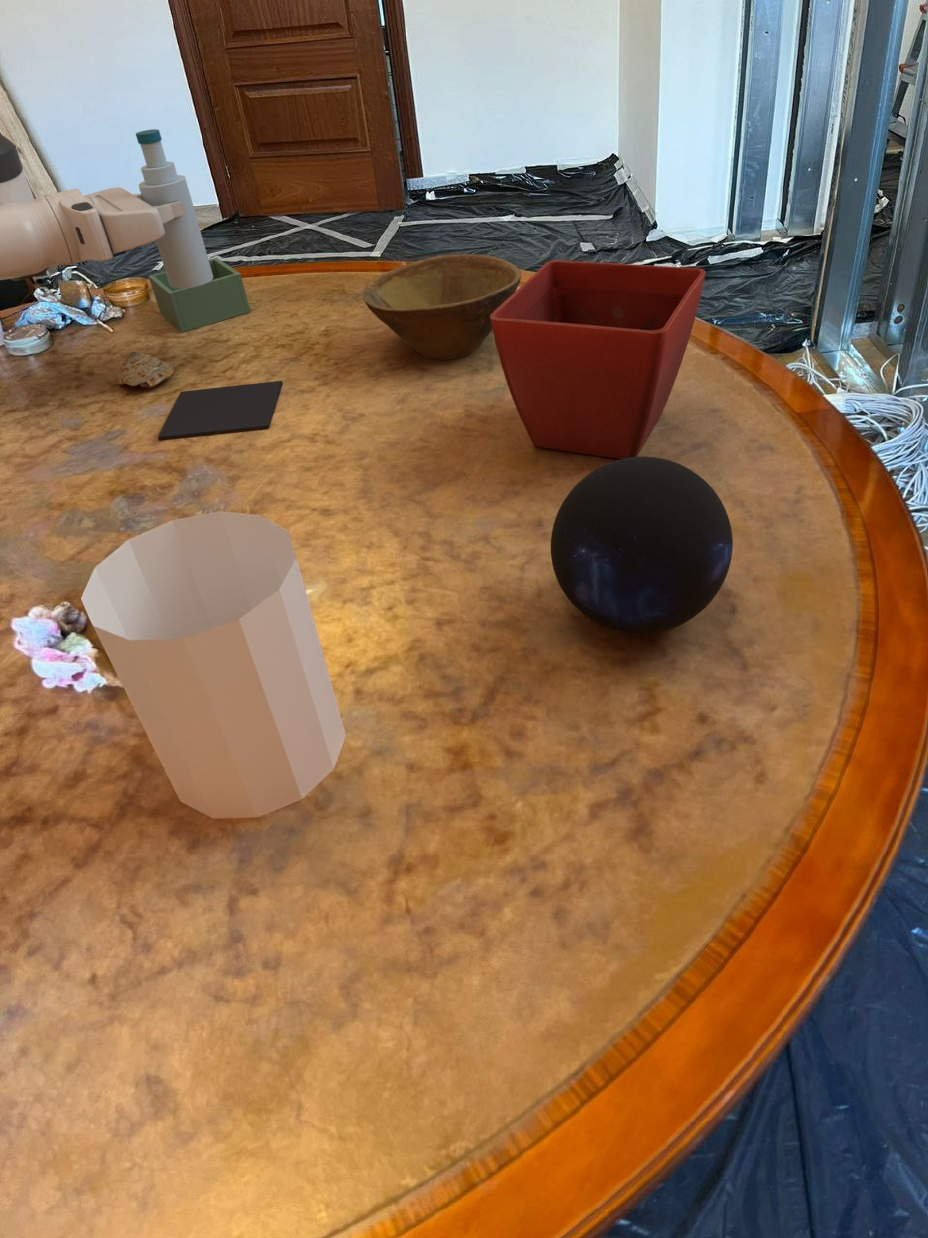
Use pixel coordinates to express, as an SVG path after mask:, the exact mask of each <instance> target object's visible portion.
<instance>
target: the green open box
mask: <svg viewBox="0 0 928 1238" xmlns="http://www.w3.org/2000/svg"><path fill="white" fill-rule="evenodd" d="M208 260H209V264H210V267H211V271H212V274H213V279H212V280H211V281H210V282H208V283H206V284H203V285H201V286H197V287H193V288H186V289H176V288H172V287H171V286H170V284H169V281H168V278H167V275H166V272H165V271H162V272H158V273H155V274H154V273H153V274H151V275H148V279H149V283H150V285H151V288H152V292H153V294H154V298H155V300H156V304H157V306H158V309H159V312H160V314H161V315H162V317H164V318H165V319H166V320H167V321H168V322H170V324H171V325H173V326H174V327H175V328H176V329H177V330H178V331H179V332H180V333H185V332H188V331H191V330H196V329H199V328H201V327H202V328H203V327H205V326H209V325H211V324H215V323H219V322H222V321H225V320H228V319H232V318H235V317H239V316H242V315H245V314H249V313H252V312H251V308H250V304H249V300H248V297H247V292H246V289H245V285H244V282H243V278H242V274H241V272H239V271H238V270H236V269H234V268H233V267H231V266H230V265H228V264H227V263H225V262H224V261H222V260H220V259H219V258H218V257H214V258H209V259H208Z"/></svg>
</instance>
